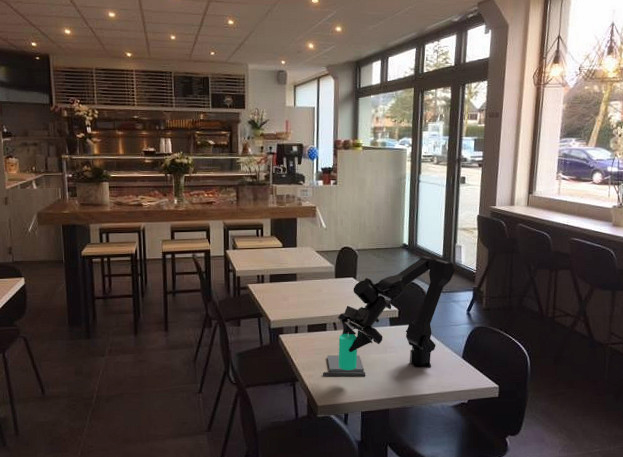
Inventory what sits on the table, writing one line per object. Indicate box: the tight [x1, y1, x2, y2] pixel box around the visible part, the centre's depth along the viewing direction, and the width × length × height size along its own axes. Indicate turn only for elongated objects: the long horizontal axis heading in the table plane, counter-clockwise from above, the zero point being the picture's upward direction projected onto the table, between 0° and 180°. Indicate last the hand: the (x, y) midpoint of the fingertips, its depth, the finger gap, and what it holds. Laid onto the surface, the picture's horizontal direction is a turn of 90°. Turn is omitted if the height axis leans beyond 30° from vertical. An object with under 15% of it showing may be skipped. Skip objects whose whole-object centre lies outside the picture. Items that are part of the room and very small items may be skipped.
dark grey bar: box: [322, 371, 366, 377], centre depth 190 cm, size 15×1×1 cm, turn 93°
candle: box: [338, 332, 358, 370], centre depth 182 cm, size 6×6×12 cm
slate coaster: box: [326, 354, 365, 372], centre depth 199 cm, size 12×12×1 cm
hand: (344, 348), depth 181 cm, fingers closed on candle, 5 cm apart
